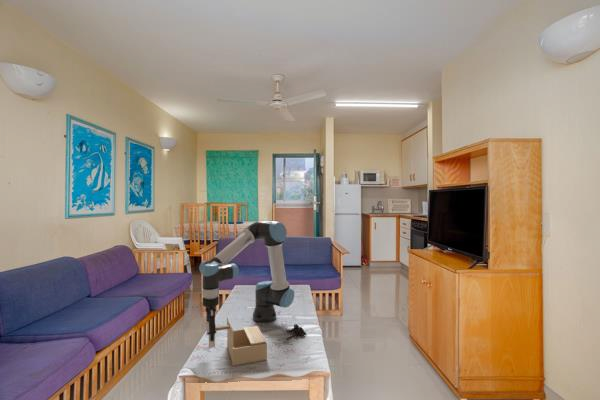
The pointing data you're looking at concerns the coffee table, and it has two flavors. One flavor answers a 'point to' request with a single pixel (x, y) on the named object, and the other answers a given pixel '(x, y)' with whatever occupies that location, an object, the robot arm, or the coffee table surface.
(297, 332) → the stuffed animal
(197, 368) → the coffee table surface
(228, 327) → the flap outer
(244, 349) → the carton
